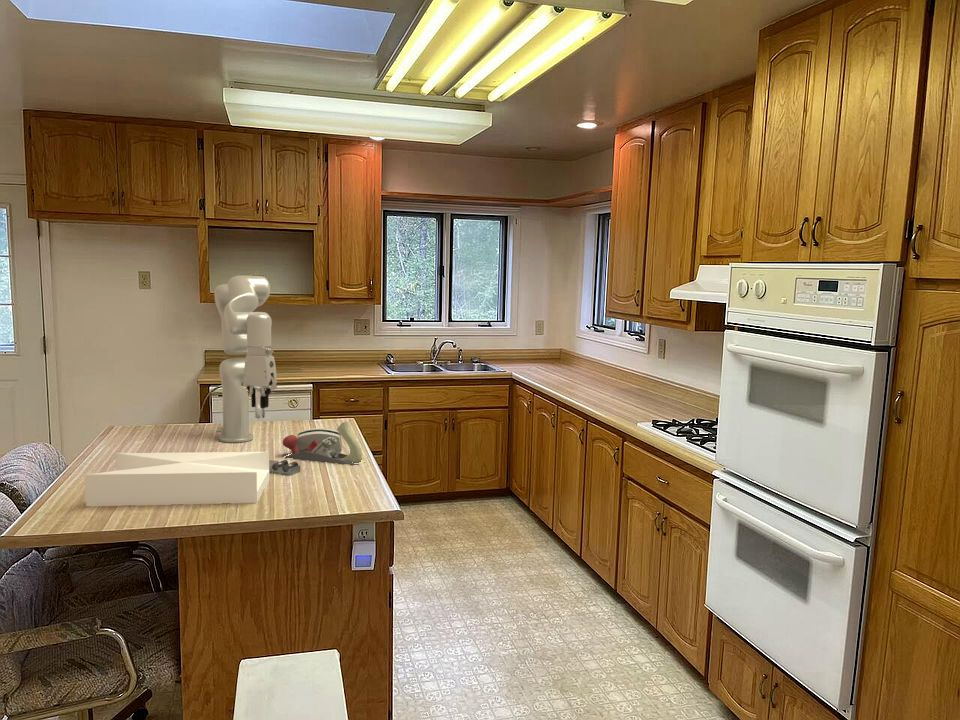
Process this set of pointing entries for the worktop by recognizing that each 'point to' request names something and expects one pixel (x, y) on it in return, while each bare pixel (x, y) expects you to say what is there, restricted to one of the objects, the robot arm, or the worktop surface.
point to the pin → (258, 403)
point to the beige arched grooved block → (318, 438)
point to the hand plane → (326, 449)
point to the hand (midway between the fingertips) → (260, 406)
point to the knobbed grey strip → (284, 467)
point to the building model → (180, 479)
